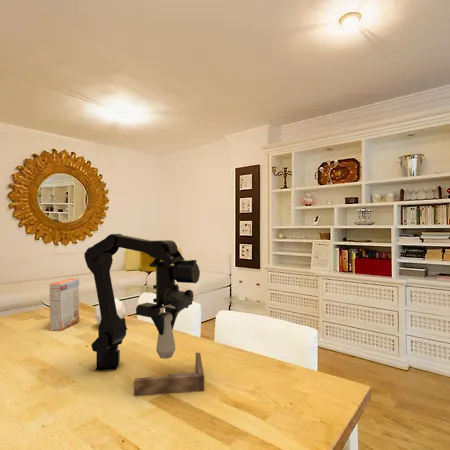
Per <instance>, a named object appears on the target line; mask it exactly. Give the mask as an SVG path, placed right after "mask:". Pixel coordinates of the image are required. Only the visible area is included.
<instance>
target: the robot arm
mask: <svg viewBox="0 0 450 450" xmlns="http://www.w3.org/2000/svg"><path fill="white" fill-rule="evenodd" d="M120 248H122V249H126V250H131V251H136V252H141V253H144V254H146V255H148V256H149V257H150V258H153V261H151V263H150V264H149V265H148V266H149V267H150V268H155V284H154V285H152V289H153V290H155V298H153V300H152V302H153V303H151V302H143V303H140V304H138V305H137V306H136V307H135V315H137V316H141V317H145V318H146V317H147V318H150V320H152V322H153V324H154V326H155V328H156V330H157V332H158V334H160V335H163V331H164V317H165V316H166V315H167V313H164V312H169V313H171V314H172V321H171V326H172V331H173V329H174V327H175V324H176V320H177V317H178V315H179V313H180V312H182V311H183V310H184V309H188V308H189V306H191V305H193V301H194V291H193V290H192V289H187V290H185V291H183V290H182V291H180V288H179V284H176V282H177V283H182V284H183V283H185V284H187V283H188V284H197V283H198V281H199V279H200V275H201V270H200V267H199V265H198V264H197V260H196V259H190V260H188V259H187V260H186V259H185V258H184V256H183V255H182V254H181V252H180V251H179V250H178V249H179V248H178V245H177V244H176V242H175V241H174V240H164V239H163V240H150V239H144V238H140V237H135V236H130V235H129V236H128V235H125V234H121V233H110V234H109V235H107V236H106V237H105V238H103V239H101V240H100V241H99V242H97V243H95V244H94V245H92V246H90V247H88V248H87V249H86V251H85V252H84V255H83V256H84V261H85V263H86V266H87V268H88V270H90V272H91V273H92V274H93V277H94V283H95V290H96V296H97V301H98V305H99V307H100V313H101V321H100V324H98V328H97V329H98V330H97V332H98V336H97V338H96V339H95V340H94V341H92V343H91V349H92V352H95V353H96V356H95V357H96V360H95V361H96V365H95V366H96V367H95V368H94V371H95V372H99V371H114V370H117V368H118V366H119V365H120V363H121V350H120V349H119V345H122V343H123V340H124V339H125V337H126V336H127V331H128V328H127V325H126V323H127V322H126V318H125V317H124V318H122V319H121V318H120V317H119V316H118V314H117V310H116V305H115V299H114V298H115V295H114V289H113V283H112V278H111V268H112V265H113V256H114V255H115V254H116V253H117V252H118V251H119V249H120Z"/></svg>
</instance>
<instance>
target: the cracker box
mask: <svg viewBox="0 0 450 450" xmlns="http://www.w3.org/2000/svg"><path fill="white" fill-rule="evenodd" d="M48 285H49V330H50V329H53V330H52V331H58V330H62V329H63V330H65V329H67V328H69V327H71V326H73V325H75V324H77V323H79V322H80V278H68V279H67V278H66V279H63V280H58V281H56V282H51V283H49V284H48ZM78 321H79V322H78ZM76 322H77V323H76ZM74 323H75V324H74ZM72 324H73V325H72ZM70 325H71V326H70ZM68 326H69V327H68ZM66 327H67V328H66ZM64 328H65V329H64ZM63 330H62V331H63Z"/></svg>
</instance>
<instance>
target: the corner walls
mask: <svg viewBox="0 0 450 450" xmlns="http://www.w3.org/2000/svg"><path fill="white" fill-rule="evenodd" d="M195 373H196V374H191V375H176V376H167V375H166V376H165V375H163V376H162V375H161V376H149V377H136V378H134V379H133V396H134V397H135V396H136V397H137V396H149V395H150V396H151V395H162V394H163V395H164V394H173V393H174V394H176V393H188V392H189V393H190V392H201V391H202V392H203V391H205V373H204V367H203V360H202V356H201V352H195Z"/></svg>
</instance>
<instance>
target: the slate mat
mask: <svg viewBox="0 0 450 450" xmlns="http://www.w3.org/2000/svg"><path fill="white" fill-rule="evenodd" d="M191 374H197V373H196V372H188V373H186V372H185V373H172V374H167V375H166V376H176V375H191Z"/></svg>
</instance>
